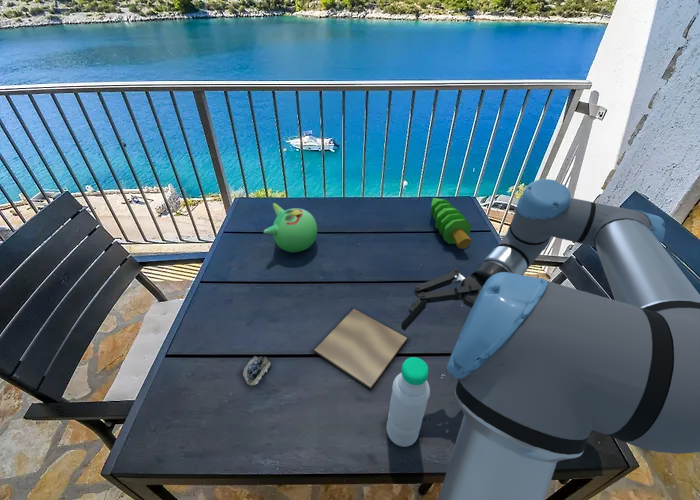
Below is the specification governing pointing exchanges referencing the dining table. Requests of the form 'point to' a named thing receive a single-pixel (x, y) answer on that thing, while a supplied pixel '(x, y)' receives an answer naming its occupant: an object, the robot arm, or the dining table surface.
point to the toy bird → (293, 229)
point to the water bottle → (408, 402)
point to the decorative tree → (451, 223)
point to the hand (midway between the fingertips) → (432, 351)
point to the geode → (255, 369)
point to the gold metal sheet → (361, 347)
